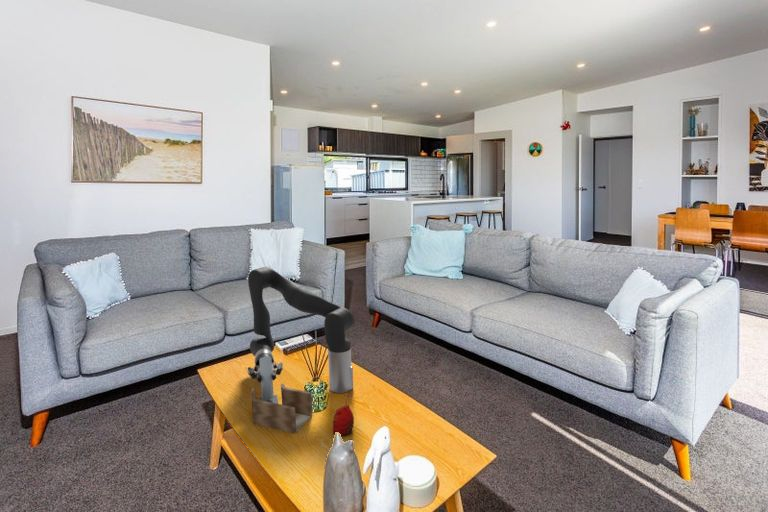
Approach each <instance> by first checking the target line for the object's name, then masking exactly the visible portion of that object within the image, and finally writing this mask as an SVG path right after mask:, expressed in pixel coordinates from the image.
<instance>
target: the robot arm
mask: <svg viewBox="0 0 768 512" xmlns="http://www.w3.org/2000/svg"><path fill="white" fill-rule="evenodd" d="M247 283H248V289H249V295H250V300H251V306H252V311H253V312H252V313H253V333H254V334H255V335H259V336H263V337H258V338H253V339H251V341H250V343H249V350H250V352H251V354H252V355H253V357H254V365H255V366H254V367H251V366H249V367H247V374H248V376H249V377H250V378H251V379H252V380H253V379H257V380H256V381H257V382H259V383H260V384H261V375H260V362H259V359H260V358H262V357H266V356H268V357H271V361H272V379H273V381H275V380H276V379H277V376H280V375H281V374H282V371H283V369H284V367H283V366H284V365H283V364H284V363H283V362H279V363H276V362H275V360H274V359H275V358H274V355H273V351H274V349H275V343H274V339H273V336H272V332H271V315H270V312H269V310H268V309H269V308H268V307H267V306H266V304H265V302H264V299H263V297H264V296H263V291H264V290H265V289H267V288H271V289H273V290H275V291H278V292H279V293H280V294H281V295H282V297H283V299H284V301H285V302H286V303H287V305H289V306H291V307H292V308H294V309H295V310H297V311H299V312H301V313H305V314H310V315H311V314H312V315H315V316H316V315H318V316H322V317H324V326H323V327H324V334H325V335H324V337H325V343H326V345H327V349H328V350H327V353H328V355H327V356H328V358H327V359H328V380H329V381H328V385H329V386H328V387H329V390H330V392H333V393H335V394H342V393H344V394H345V393H347V392H349V391H351V390H354V368H353V366H352V343H351V341H350V339H348V338H346V335H345V333H346V331H348V330H350V329H351V328H352V327H353V325H354V324H355V317H354V314H353V313H352V312H351V311H350V310H349V309H348V308H345V307H344V306H341V305H338V304H336V303H334V302H331V301H328V300H327V299H326V298H323V297H322V296H320V295H318V294H316V293H315V292H312V291H310V290H309V289H307V288H305V287H303V286H301V285H299V284H297V283H295V282H293V280H290V279H288V278H286V277H285V276H283V275H282V274H281V273H279V271H276V270H275V269H274V268H272V267H269V266H264V267H263V266H262V267H258V268H254V269H252V270H250V272H248V276H247Z"/></svg>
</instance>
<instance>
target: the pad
mask: <svg viewBox="0 0 768 512" xmlns="http://www.w3.org/2000/svg"><path fill="white" fill-rule="evenodd" d="M258 400H262V396H261V397H258ZM278 400H279V398H278V394H274V398H273V399H271V400H267V401H266V400H262V401H266V402H271V403H276V404H279V401H278Z"/></svg>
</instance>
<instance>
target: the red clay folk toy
mask: <svg viewBox="0 0 768 512" xmlns="http://www.w3.org/2000/svg"><path fill="white" fill-rule="evenodd" d="M343 395H344V396H345V397H346V399H345V400H346V401H344V403H345V405H343V406H341V407H339V408H337V409H336V411H335V413H334V415H333V421H332V433H333V434H334V433H335V432H339V433H340V434H341V436H347V435H351V434H352V432H353V429H354V423H355V419H354V414H353V412H352V409H351V408H350V405H348V398H352V397H353V394H352V393H351V394H350V392H348V394H345V393H344V394H343Z"/></svg>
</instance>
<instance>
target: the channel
mask: <svg viewBox="0 0 768 512" xmlns="http://www.w3.org/2000/svg"><path fill="white" fill-rule="evenodd" d="M285 386H286V385H285V383H281V384H280V394H281V404H280V403H278V404H276V403H271V402H266V401H262V400H259V399H257V398H256V393H255V392H256V391H255V390H256V389H255V388H250V390H251V391H250V392H251V393H250V394H251V395H250V396H251V406H252V408H251V409H252V419H253V425H257V426H259V427H260V426H261V427H266V428H269V429H273V430H277V431H281V432H285V433H288V434H289V433H291V434H293V435H294V434H296V433H297V432H298V431H299V430H300V429H302V427H303V426H304V425H305V424H306V423H307V422H308V421H309V420H310V419H311V418H312V417H313V401H312V392H311V391H306V390H301V389H297V388H296V389H295V388H290V387H285Z"/></svg>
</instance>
